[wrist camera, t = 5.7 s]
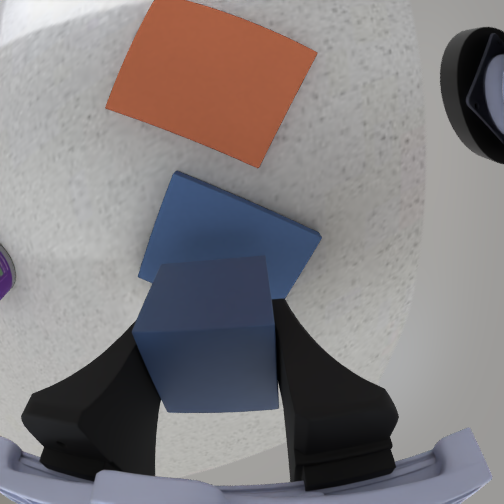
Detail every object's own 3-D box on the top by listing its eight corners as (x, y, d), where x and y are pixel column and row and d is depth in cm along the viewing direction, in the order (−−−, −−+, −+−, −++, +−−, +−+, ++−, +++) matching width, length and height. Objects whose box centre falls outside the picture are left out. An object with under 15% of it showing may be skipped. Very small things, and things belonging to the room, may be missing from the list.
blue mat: (319, 232, 18) (322, 237, 18) (266, 318, 21) (267, 326, 20) (176, 170, 16) (173, 173, 16) (140, 270, 19) (137, 277, 19)
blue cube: (265, 254, 13) (275, 324, 9) (271, 335, 15) (278, 409, 11) (160, 263, 13) (130, 332, 9) (181, 341, 15) (167, 412, 11)
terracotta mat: (314, 54, 14) (318, 52, 13) (257, 165, 17) (258, 168, 16) (161, -3, 12) (157, -8, 11) (110, 107, 15) (104, 108, 14)
